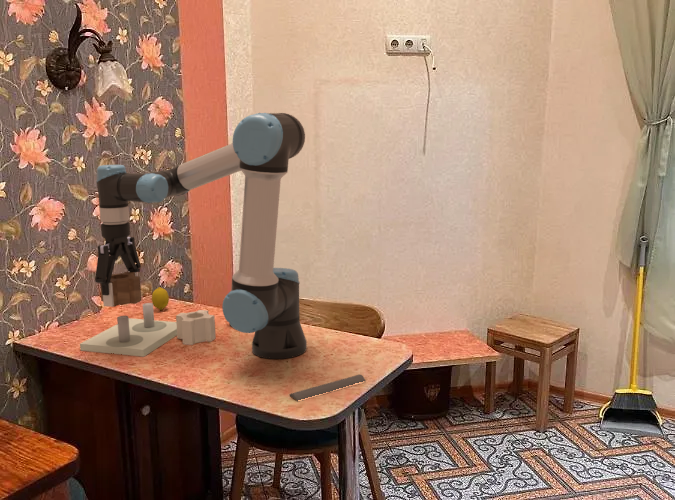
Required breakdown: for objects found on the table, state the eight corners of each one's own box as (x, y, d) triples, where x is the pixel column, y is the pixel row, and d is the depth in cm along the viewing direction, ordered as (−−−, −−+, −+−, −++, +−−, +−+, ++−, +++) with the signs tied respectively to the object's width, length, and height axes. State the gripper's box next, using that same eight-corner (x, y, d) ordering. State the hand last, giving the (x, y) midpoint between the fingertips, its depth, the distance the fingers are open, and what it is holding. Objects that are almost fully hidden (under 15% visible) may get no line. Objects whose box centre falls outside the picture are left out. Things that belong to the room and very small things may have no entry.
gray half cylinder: (288, 398, 155) (288, 390, 154) (356, 378, 165) (356, 372, 165) (297, 404, 151) (297, 397, 151) (366, 384, 162) (366, 377, 161)
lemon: (149, 312, 221) (148, 289, 219) (156, 307, 226) (155, 284, 224) (165, 312, 220) (163, 289, 218) (172, 308, 225) (170, 285, 223)
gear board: (186, 329, 203) (184, 300, 201) (143, 356, 180) (141, 325, 178) (128, 324, 208) (126, 296, 206) (80, 350, 186) (77, 319, 184)
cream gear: (221, 333, 198) (220, 311, 197) (204, 346, 188) (203, 322, 186) (188, 331, 201) (187, 309, 200) (170, 343, 191) (169, 319, 189)
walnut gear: (149, 297, 188) (147, 273, 187) (127, 307, 178) (125, 282, 177) (115, 294, 191) (113, 271, 190) (92, 305, 181) (90, 280, 179)
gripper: (127, 215, 192) (132, 288, 197) (75, 228, 170) (83, 311, 175) (150, 216, 190) (155, 290, 195) (101, 230, 168) (108, 313, 173)
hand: (121, 300), depth 185 cm, fingers closed on walnut gear, 11 cm apart
